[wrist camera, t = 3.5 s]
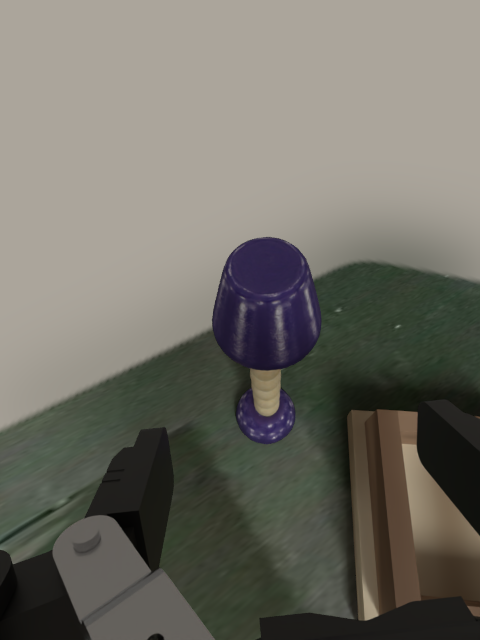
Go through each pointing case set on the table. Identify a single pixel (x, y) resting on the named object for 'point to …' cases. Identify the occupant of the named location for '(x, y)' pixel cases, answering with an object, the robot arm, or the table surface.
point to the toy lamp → (266, 328)
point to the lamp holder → (404, 521)
